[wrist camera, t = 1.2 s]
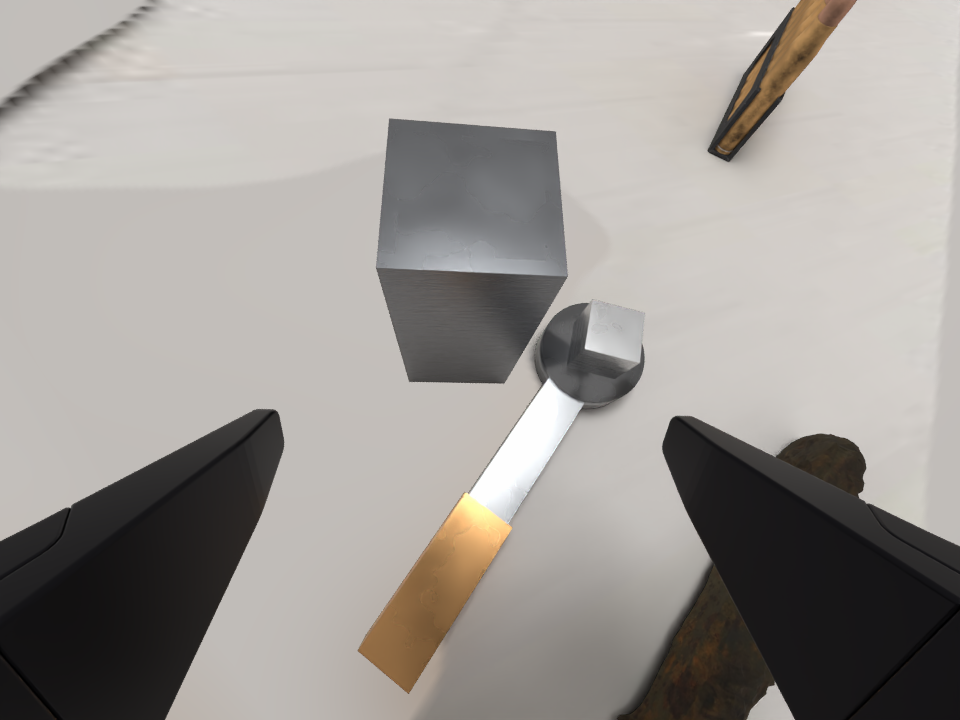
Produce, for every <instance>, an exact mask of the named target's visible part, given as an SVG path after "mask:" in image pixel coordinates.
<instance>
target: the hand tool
mask: <svg viewBox="0 0 960 720" xmlns="http://www.w3.org/2000/svg"><path fill="white" fill-rule="evenodd" d="M776 458H778V459H780V460H782V461H784V462H786V463H788V464H790V465H792V466H794V467H796V468H798V469H800V470H802V471H804V472H806V473H808V474H810V475H812V476H815V477H817V478H819V479H821V480H823V481H825V482H827V483H829V484H831V485H833V486H835V487H837V488H839V489H841V490H843V491H845V492H847V493H849V494H851V495H853V496H855V497H857V498H859V496H858V493H860V492H862V491H863V487H864V481H863V474H864V472H865V470H866V463H865V459H864V457H863V455H862V453H861V452H860V450H859V447H858V446H856V445H855V444H854V443H853V442H851V441H850V440H848V439H846V438H840V437H837V436H834V435H832V434H830V435H827V434H816V435H811V436H805V437H802V438H800V439H798V440H796V441H794V442H793V443H791V444H790V445H789V446H787V447H786V448H785V449H784V450H783V451H782V452H781V453H780V454H779V455H778V456H777V457H776ZM774 683H775V680H774V678H773V676H772V675H771V673H770V671H769V669H768V667H767V665H766V663H765V661H764V659H763V657H762V655H761V653H760V652H759V650H758V648H757V646H756V644H755V642H754V640H753V638H752V636H751V634H750V632H749V631H748V629H747V627H746V625H745V623H744V621H743V619H742V617H741V615H740V613H739V611H738V609H737V608H736V606H735V604H734V602H733V600H732V598H731V596H730V594H729V592H728V590H727V588H726V586H725V585H724V583H723V581H722V579H721V577H720V575H719V573H718V571H717V569H716V567H715V565H714V567H713V569H712V571H711V573H710V576H709V579H708V581H707V584H706V586H705V588H704V589H703V591H702V593H701V595H700V596H699V598H698V600H697V602H696V604H695V605H694V607H693V609H692V610H691V612H690V613H689V615H688V616H687V618H686V619H685V621H684V623H683V625H682V627H681V629H680V630H679V632H678V633H677V635H676V636H675V637H674V639H673V642H672V646H671V649H670V651H669V653H668V655H667V657H666V659H665V661H664V662H663V664H662V666H661V668H660V670H659V672H658V674H657V676H656V678H655V680H654V682H653V684H652V686H651V688H650V690H649V692H648V694H647V696H646V697H645V699H644V700H643V702H642V704H641V705H640V706H639V707H638V708H637V709H636V710H635V711H634V712H633V713H631V714H625V715H619V717H618V718H617V719H618V720H746V719H747V717H748V715H749V712H750V710H751V708H752V707H753V706H754V705H755V704H756V703H757V702H758V701H759V700H760V699H761V698H762V697H763V696H764V695H766V691H767V688H768V686H772V685H774Z"/></svg>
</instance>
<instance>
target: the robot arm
mask: <svg viewBox="0 0 960 720" xmlns="http://www.w3.org/2000/svg"><path fill="white" fill-rule="evenodd" d="M283 449H284V437H283V432H282V427H281V422H280V417H279V414H278V412H277V411H276V410H273V409H256V410H253V411H252V412H250V413H248V414H246V415H244V416H242V417H240V418H238V419H236V420H234V421H232V422H231V423H229V424H227V425H225V426H223V427H221V428H219V429H217V430H215V431H213V432H211V433H209V434H207V435H205V436H204V437H201V438H200V439H198V440H196V441H194V442H192V443H190V444H188V445H186V446H184V447H182V448H180V449H178V450H177V451H175V452H173V453H171V454H169V455H167V456H165V457H163V458H161V459H159V460H157V461H155V462H153V463H151V464H150V465H148V466H146V467H144V468H142V469H140V470H138V471H136V472H134V473H132V474H131V475H128V476H126V477H124V478H123V479H121V480H119V481H117V482H115V483H113V484H111V485H109V486H108V487H105V488H103V489H101V490H99V491H98V492H96V493H94V494H92V495H90V496H88V497H86V498H84V499H82V500H80V501H78V502H77V503H74V504H73V505H72V506H71V508H65V509H63V510H61V511H59V512H57V513H55V514H53V515H51V516H49V517H47V518H46V519H44V520H42V521H40V522H38V523H36V524H34V525H32V526H30V527H28V528H26V529H24V530H22V531H20V532H18V533H16V534H14V535H12V536H10V537H8V538H6V539H4V540H2V541H0V720H165V719H166V716H167V714H168V712H169V710H170V708H171V706H172V704H173V702H174V699H175V697H176V695H177V693H178V691H179V689H180V687H181V685H182V682H183V680H184V678H185V676H186V674H187V672H188V670H189V668H190V665H191V663H192V661H193V659H194V657H195V655H196V652H197V651H198V648H199V646H200V644H201V642H202V640H203V638H204V635H205V634H206V631H207V629H208V627H209V625H210V623H211V621H212V619H213V617H214V614H215V612H216V610H217V608H218V606H219V603H220V602H221V600H222V597H223V595H224V593H225V591H226V589H227V587H228V585H229V583H230V580H231V578H232V576H233V574H234V572H235V570H236V568H237V566H238V563H239V561H240V559H241V557H242V555H243V553H244V551H245V548H246V546H247V544H248V542H249V540H250V538H251V536H252V533H253V532H254V529H255V527H256V525H257V523H258V521H259V518H260V516H261V514H262V511H263V509H264V506H265V503H266V500H267V497H268V494H269V491H270V488H271V485H272V482H273V479H274V476H275V473H276V470H277V467H278V464H279V461H280V458H281V456H282V453H283ZM662 450H663V454H664V457H665V460H666V462H667V465H668V467H669V470H670V472H671V475H672V477H673V480H674V482H675V485H676V487H677V490H678V492H679V495H680V497H681V500H682V502H683V504H684V507H685V509H686V511H687V513H688V515H689V517H690V519H691V521H692V523H693V525H694V527H695V529H696V531H697V533H698V535H699V537H700V539H701V541H702V542H703V544H704V546H705V548H706V550H707V552H708V554H709V556H710V558H711V560H712V562H713V563H714V565H715V567H716V569H717V571H718V573H719V575H720V577H721V579H722V581H723V583H724V585H725V586H726V588H727V590H728V592H729V594H730V596H731V598H732V600H733V602H734V604H735V606H736V608H737V609H738V611H739V613H740V615H741V617H742V619H743V621H744V623H745V625H746V627H747V629H748V631H749V632H750V634H751V636H752V638H753V640H754V642H755V644H756V646H757V648H758V650H759V652H760V653H761V655H762V657H763V659H764V661H765V663H766V665H767V667H768V669H769V671H770V673H771V675H772V676H773V678H774V680H775V682H776V684H777V686H778V688H779V690H780V692H781V694H782V696H783V698H784V699H785V701H786V703H787V705H788V707H789V709H790V711H791V713H792V715H793V717H794V719H795V720H960V546H958V545H955V544H954V543H951V542H949V541H947V540H945V539H943V538H940V537H938V536H936V535H934V534H932V533H930V532H927V531H925V530H923V529H921V528H919V527H917V526H915V525H913V524H911V523H909V522H907V521H905V520H902V519H900V518H898V517H896V516H894V515H892V514H890V513H888V512H886V511H884V510H882V509H880V508H878V507H876V506H874V505H872V504H866V502H865V501H863V500H861V499H859V498H857V497H855V496H853V495H851V494H849V493H847V492H845V491H843V490H841V489H839V488H837V487H835V486H833V485H831V484H829V483H827V482H825V481H823V480H821V479H819V478H817V477H815V476H812V475H810V474H808V473H806V472H804V471H802V470H800V469H798V468H796V467H794V466H792V465H790V464H788V463H786V462H784V461H782V460H780V459H778V458H776V457H774V456H772V455H770V454H768V453H766V452H764V451H762V450H760V449H758V448H756V447H753V446H751V445H749V444H747V443H745V442H743V441H741V440H739V439H737V438H735V437H733V436H731V435H729V434H727V433H725V432H723V431H721V430H719V429H717V428H715V427H713V426H711V425H709V424H707V423H705V422H703V421H701V420H699V419H696V418H694V417H692V416H675V417H673V418H672V419H671V421H670V423H669V426H668V429H667V432H666V435H665V438H664V441H663V445H662Z"/></svg>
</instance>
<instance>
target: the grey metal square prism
mask: <svg viewBox="0 0 960 720" xmlns="http://www.w3.org/2000/svg"><path fill="white" fill-rule="evenodd" d="M376 269H377V272H378V276H379V279H380V283H381V286H382V290H383V293H384V296H385V300H386V303H387V307H388V310H389V314H390V317H391V321H392V324H393V327H394V331H395V334H396V338H397V341H398V344H399V348H400V351H401V355H402V358H403V361H404V365H405V369H406V372H407V375H408V379H409V381H410V382H453V383H454V382H456V383H460V382H461V383H505V381H506V380H507V378H508V376H509V375H510V373H511V371H512V370H513V368H514V366H515V364H516V363H517V361H518V359H519V358H520V356H521V354H522V353H523V351H524V349H525V348H526V346H527V344H528V343H529V341H530V339H531V338H532V336H533V334H534V333H535V331H536V329H537V327H538V326H539V324H540V322H541V321H542V319H543V317H544V316H545V314H546V312H547V311H548V309H549V307H550V306H551V304H552V302H553V300H554V299H555V297H556V295H557V294H558V292H559V290H560V289H561V287H562V285H563V284H564V282H565V280H566V279H567V277H568V274H567V261H566V250H565V238H564V225H563V213H562V202H561V189H560V177H559V165H558V153H557V141H556V132H554V131H542V130H529V129H516V128H503V127H491V126H478V125H465V124H452V123H440V122H427V121H414V120H401V119H389V127H388V139H387V150H386V161H385V174H384V184H383V195H382V207H381V219H380V229H379V241H378V252H377V264H376Z"/></svg>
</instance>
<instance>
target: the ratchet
mask: <svg viewBox="0 0 960 720" xmlns="http://www.w3.org/2000/svg"><path fill="white" fill-rule="evenodd" d="M644 319H645V313H644V312H640V311H636V310H632V309H628V308H624V307H621V306H617V305H613V304H609V303H605V302H601V301H597V300H593V299H592V301H591V302H590V303H581V304H575V305H572V306H569V307H567V308H565V309H563V310H562V311H560V312H559V313H557V314H556V315H555V316H554V317H553V318H552V320H551V321H550V322H549V324H548V325H547V327H546V329H545V330H544V332H543V333H542V335H541V336H540V338H539V340H538V343H537V345H536V349H535V366H536V370H537V374H538V376H539V378H540V380H541V382H542V384H543V385H542V386H541V387H540V389H539V390H538V392H537V393H536V395H535V396H534V398H533V399H532V401H531V402H530V403H529V405H528V406H527V408H526V409H525V411H524V412H523V414H522V415H521V417H520V418H519V420H518V421H517V422H516V424H515V425H514V427H513V428H512V430H511V431H510V433H509V434H508V436H507V437H506V439H505V440H504V442H503V443H502V444H501V446H500V447H499V449H498V450H497V452H496V453H495V455H494V456H493V458H492V459H491V460H490V462H489V463H488V465H487V466H486V468H485V469H484V471H483V472H482V474H481V475H480V476H479V478H478V479H477V481H476V482H475V484H474V485H473V487H472V488H471V490H470V491H469V493H468V494H467V493H463V495H462V496H461V498H460V499H459V501H458V502H457V504H456V505H455V506H454V508H453V509H452V511H451V512H450V514H449V515H448V516H447V518H446V520H445V521H444V522H443V524H442V525H441V527H440V528H439V530H438V531H437V533H436V534H435V535H434V537H433V538H432V540H431V541H430V543H429V544H428V546H427V547H426V549H425V550H424V551H423V553H422V554H421V556H420V557H419V559H418V560H417V562H416V563H415V564H414V566H413V567H412V569H411V570H410V572H409V573H408V575H407V576H406V578H405V579H404V580H403V582H402V583H401V585H400V586H399V588H398V589H397V591H396V592H395V594H394V595H393V597H392V598H391V600H390V601H389V602H388V604H387V605H386V607H385V608H384V609H383V611H382V612H381V614H380V615H379V617H378V618H377V620H376V621H375V622H374V624H373V625H372V627H371V628H370V630H369V631H368V633H367V634H366V636H365V638H364V640H363V642H362V643H361V646H360V647H359V649H358V652H360V653H361V654H362V655H363V656H365V657H366V658H367V659H368V660H369V661H370V662H371V663H373V664H374V665H375V666H376V667H378V668H379V669H380V670H381V671H382V672H383V673H384V674H386V675H387V676H388V677H389V678H390V679H392V680H393V681H394V682H395V683H396V684H398V685H399V686H400V687H401V688H402V689H403V690H405V691H406V692H407V693H408V694H409V692H410V691H411V689H412V688H413V686H414V684H415V683H416V681H417V680H418V678H419V676H420V675H421V673H422V672H423V670H424V668H425V667H426V665H427V663H428V662H429V660H430V659H431V657H432V656H433V654H434V653H435V651H436V649H437V648H438V646H439V645H440V643H441V641H442V640H443V638H444V637H445V635H446V633H447V632H448V630H449V629H450V627H451V625H452V624H453V622H454V621H455V619H456V617H457V616H458V614H459V613H460V611H461V609H462V608H463V606H464V605H465V603H466V601H467V600H468V598H469V597H470V595H471V593H472V592H473V590H474V589H475V587H476V585H477V584H478V582H479V581H480V579H481V577H482V576H483V574H484V573H485V571H486V569H487V568H488V566H489V565H490V563H491V561H492V560H493V558H494V557H495V555H496V553H497V552H498V550H499V549H500V547H501V545H502V544H503V542H504V541H505V539H506V537H507V536H508V534H509V533H510V531H511V529H512V527H511V526H509V525H508V524H509V522H510V520H511V519H512V517H513V516H514V514H515V512H516V511H517V509H518V508H519V506H520V505H521V503H522V501H523V500H524V498H525V497H526V495H527V493H528V492H529V490H530V489H531V487H532V485H533V484H534V482H535V481H536V479H537V478H538V476H539V474H540V473H541V471H542V470H543V468H544V466H545V465H546V463H547V462H548V460H549V459H550V457H551V455H552V454H553V452H554V451H555V449H556V447H557V446H558V444H559V443H560V441H561V440H562V438H563V436H564V435H565V433H566V432H567V430H568V428H569V427H570V425H571V424H572V422H573V421H574V419H575V417H576V416H577V414H578V413H579V411H580V409H593V408H598V407H602V406H604V405H607V404H609V403H610V402H612V401H614V400H616V399H618V398H620V397H622V396H624V395H625V394H627V393H628V392H629V391H631V390H632V389H633V388H634V387H635V385H636V384H637V382H638V381H639V379H640V377H641V375H642V372H643V368H644V349H643V345H642V338H643V328H644Z"/></svg>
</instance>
